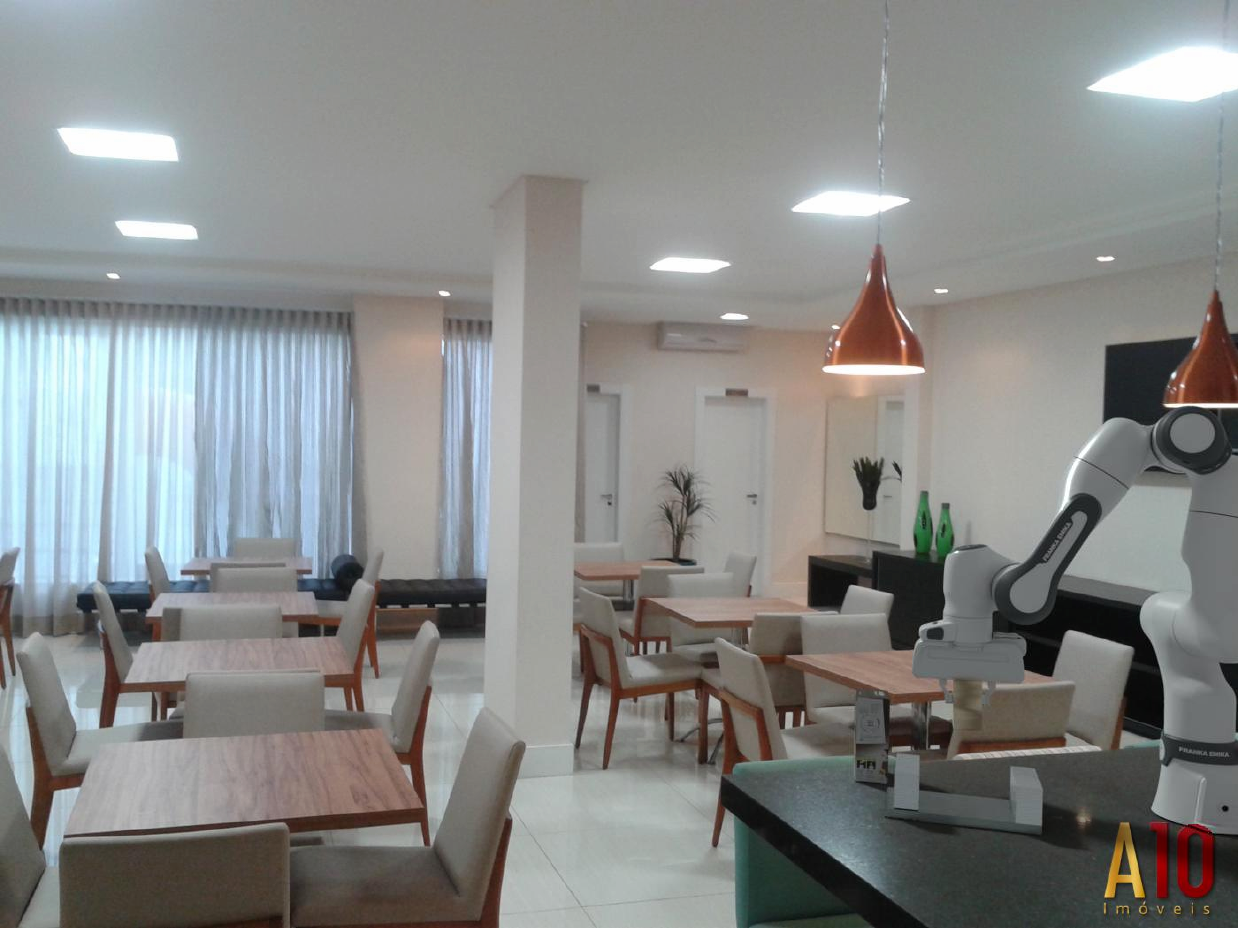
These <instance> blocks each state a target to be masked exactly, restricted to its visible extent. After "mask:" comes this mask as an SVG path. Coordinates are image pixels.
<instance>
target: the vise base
mask: <svg viewBox="0 0 1238 928" xmlns="http://www.w3.org/2000/svg"><path fill="white" fill-rule="evenodd" d="M1009 775H1010V778H1009V799H1005V798H1004V799H1002V798H993V797H983V796H975V795H974V796H973V795H965V794H957V793H945V792H939V791H938V792H937V791H929V790H928V791H927V790H920V789H919V804H918V810H913V809H904V808H895V807H894V787H893V786H892V787H890V786H887V787H886V794H885V795H886V796H885V803H884V817H885V816H887V817H886V818H890V817H892V818H891V819H898V818H904V819H903V820H907V819H912V820H911V821H916V820H919V821H918V822H924V821H925V822H927V823H935V824H943V825H952V826H961V827H969V828H970V827H971V828H978V829H985V830H986V829H987V830H994V831H995V830H997V831H1004V832H1014V833H1020V834H1021V833H1022V834H1030V835H1039V836H1041V835H1042V832H1043V795H1044V788H1043V787H1042V786H1043V785H1042V784H1041V781H1040V778H1039V776H1038V773H1037V771H1036V768H1033V767H1024V766H1012V765H1010V774H1009ZM1042 836H1043V835H1042Z"/></svg>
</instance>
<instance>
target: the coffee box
mask: <svg viewBox="0 0 1238 928" xmlns="http://www.w3.org/2000/svg"><path fill="white" fill-rule="evenodd" d="M854 694H855V695H854V730H853V731H854V732H853V733H854V734H853V779H854V781H855V782H861V783H862V782H863V783H864V782H865V783H875V784H883V785H886V784H888V777H889V776H888V772H889V770H888V769H889V750H890V749H889V748H890V747H889V746H890V745H889V744H890V717H891V716H890V714H891V713H890V712H891V696H890V694H889V691H888V690H885V689H872V688H871V689H866V688H865V689H862V688H860V689H859V688H855V693H854Z"/></svg>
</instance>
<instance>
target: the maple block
mask: <svg viewBox="0 0 1238 928" xmlns="http://www.w3.org/2000/svg"><path fill="white" fill-rule="evenodd" d="M952 693H953V704H952V707H951V708H952V717H951V718H952V727H953V728H952V729H953V730H956V731H969V732H979V733H981V732H983V706H982V695H983V682H982V681H974V680H958V679H954V680H952Z"/></svg>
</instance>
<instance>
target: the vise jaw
mask: <svg viewBox="0 0 1238 928" xmlns="http://www.w3.org/2000/svg"><path fill="white" fill-rule="evenodd" d="M920 756H921V755H919V754H918V755H917V754H910V753H909V754H908V753H897V752H896V758H895V765H894V766H895V767H894V768H895V769H894V786H893V788H894V807H895V808H904V809H913V810H918V804H919V790H920V760H921V759H920Z"/></svg>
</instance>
